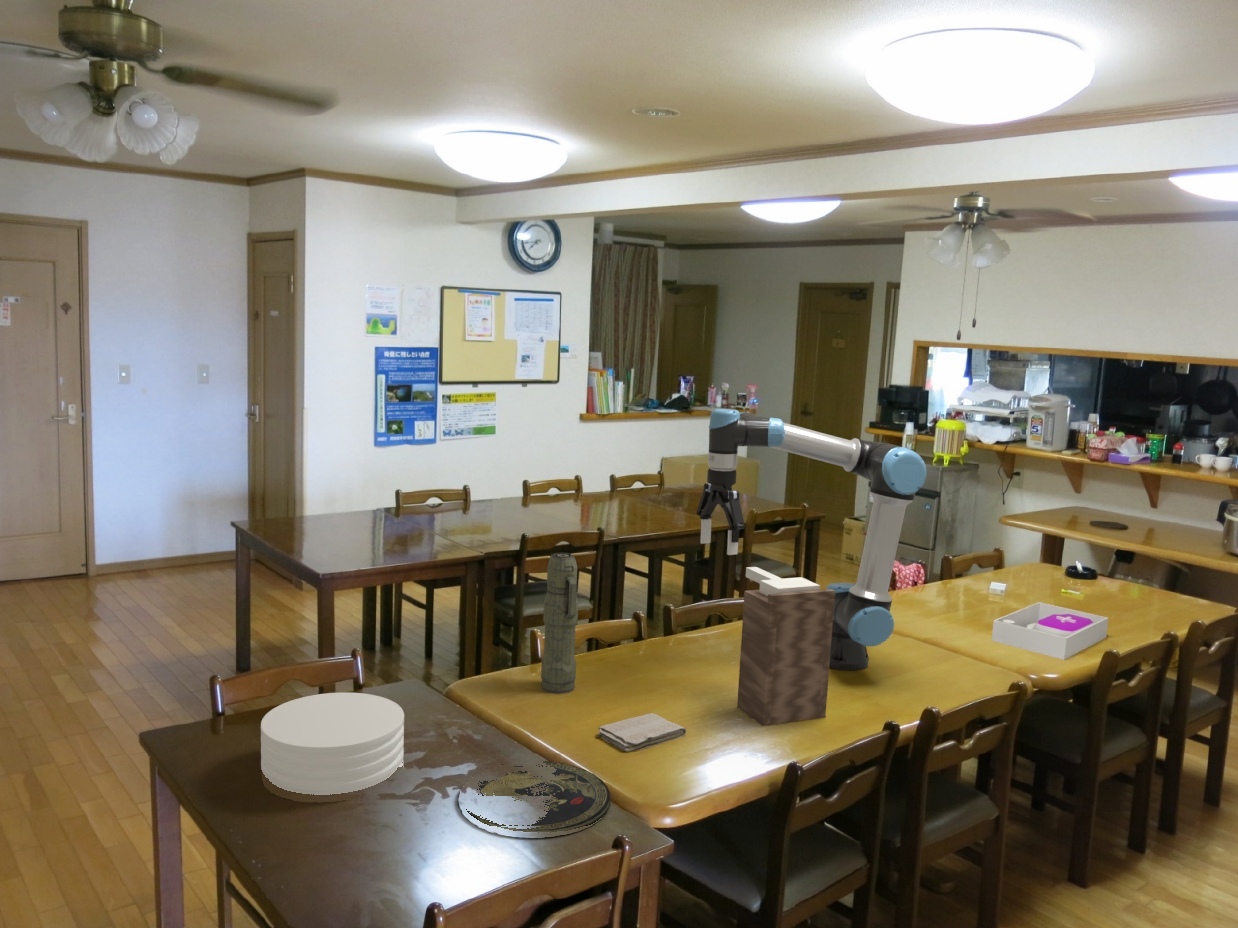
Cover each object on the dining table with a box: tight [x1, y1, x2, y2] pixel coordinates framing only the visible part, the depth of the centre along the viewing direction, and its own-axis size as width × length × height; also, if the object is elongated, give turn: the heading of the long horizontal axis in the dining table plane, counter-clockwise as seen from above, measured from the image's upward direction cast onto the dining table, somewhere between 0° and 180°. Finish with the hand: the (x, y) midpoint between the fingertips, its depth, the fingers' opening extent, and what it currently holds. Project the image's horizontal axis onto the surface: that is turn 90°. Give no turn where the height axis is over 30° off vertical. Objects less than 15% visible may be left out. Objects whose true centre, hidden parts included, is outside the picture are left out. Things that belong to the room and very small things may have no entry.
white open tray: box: [991, 601, 1109, 661], centre depth 312 cm, size 22×35×7 cm, turn 135°
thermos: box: [540, 552, 579, 695], centre depth 249 cm, size 9×12×35 cm
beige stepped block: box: [745, 566, 821, 596], centre depth 244 cm, size 12×22×3 cm, turn 24°
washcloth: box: [597, 712, 687, 753], centre depth 224 cm, size 12×18×3 cm, turn 130°
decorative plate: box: [466, 760, 612, 833], centre depth 192 cm, size 30×2×30 cm
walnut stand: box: [736, 589, 835, 727], centre depth 239 cm, size 18×12×32 cm, turn 114°
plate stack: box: [260, 692, 405, 795], centre depth 200 cm, size 28×28×12 cm
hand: (718, 548), depth 256 cm, fingers open, 13 cm apart
